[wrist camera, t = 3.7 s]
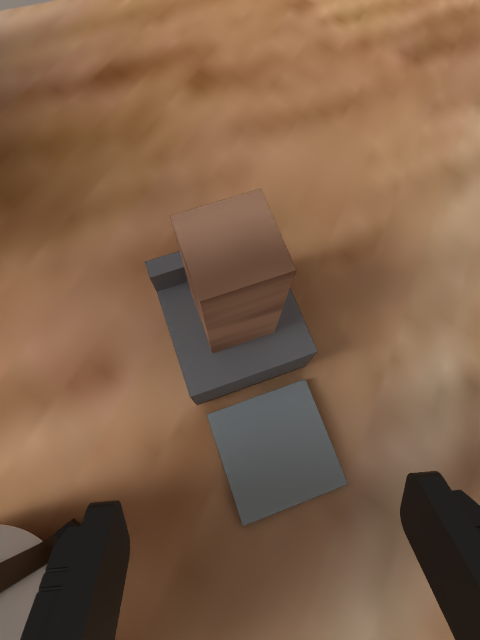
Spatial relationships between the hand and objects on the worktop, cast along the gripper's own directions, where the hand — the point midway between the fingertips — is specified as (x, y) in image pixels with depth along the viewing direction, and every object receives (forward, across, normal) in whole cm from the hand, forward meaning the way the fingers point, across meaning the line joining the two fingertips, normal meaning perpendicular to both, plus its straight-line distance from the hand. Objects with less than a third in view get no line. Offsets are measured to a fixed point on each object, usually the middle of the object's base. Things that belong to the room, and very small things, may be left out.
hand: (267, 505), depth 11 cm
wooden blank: (+17, 0, -2) cm, 17 cm away
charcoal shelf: (+21, 0, -6) cm, 22 cm away
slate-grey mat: (+14, +2, -12) cm, 19 cm away
